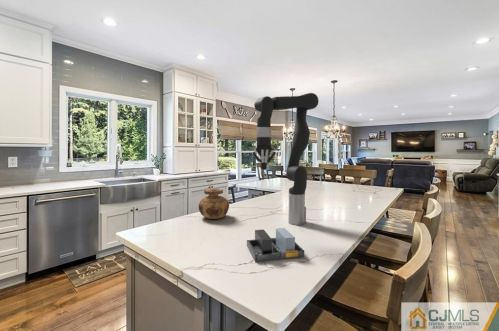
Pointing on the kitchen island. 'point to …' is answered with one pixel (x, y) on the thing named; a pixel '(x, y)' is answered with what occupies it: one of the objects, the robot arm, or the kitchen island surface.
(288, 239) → the panel
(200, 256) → the kitchen island surface
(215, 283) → the kitchen island surface
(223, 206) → the clay pot
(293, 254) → the dark grey tray
